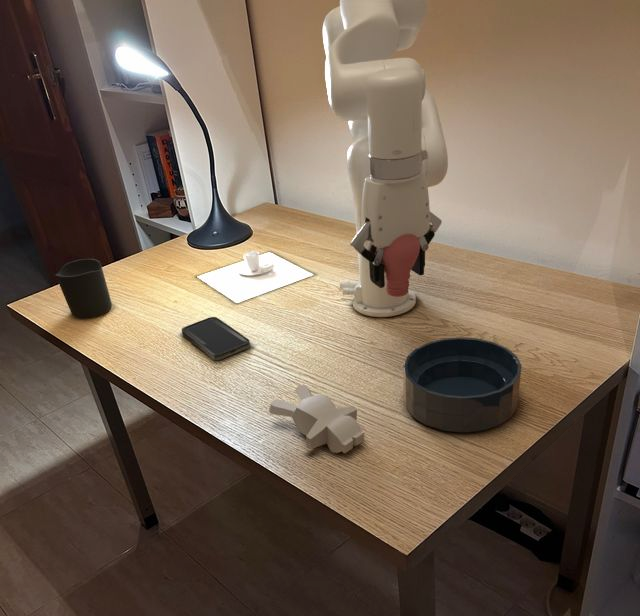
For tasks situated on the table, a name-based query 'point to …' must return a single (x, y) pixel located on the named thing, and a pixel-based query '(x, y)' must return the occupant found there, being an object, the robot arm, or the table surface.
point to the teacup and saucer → (254, 276)
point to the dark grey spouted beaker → (84, 288)
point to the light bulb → (400, 263)
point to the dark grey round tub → (461, 384)
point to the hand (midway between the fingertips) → (397, 277)
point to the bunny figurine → (321, 421)
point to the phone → (215, 338)
